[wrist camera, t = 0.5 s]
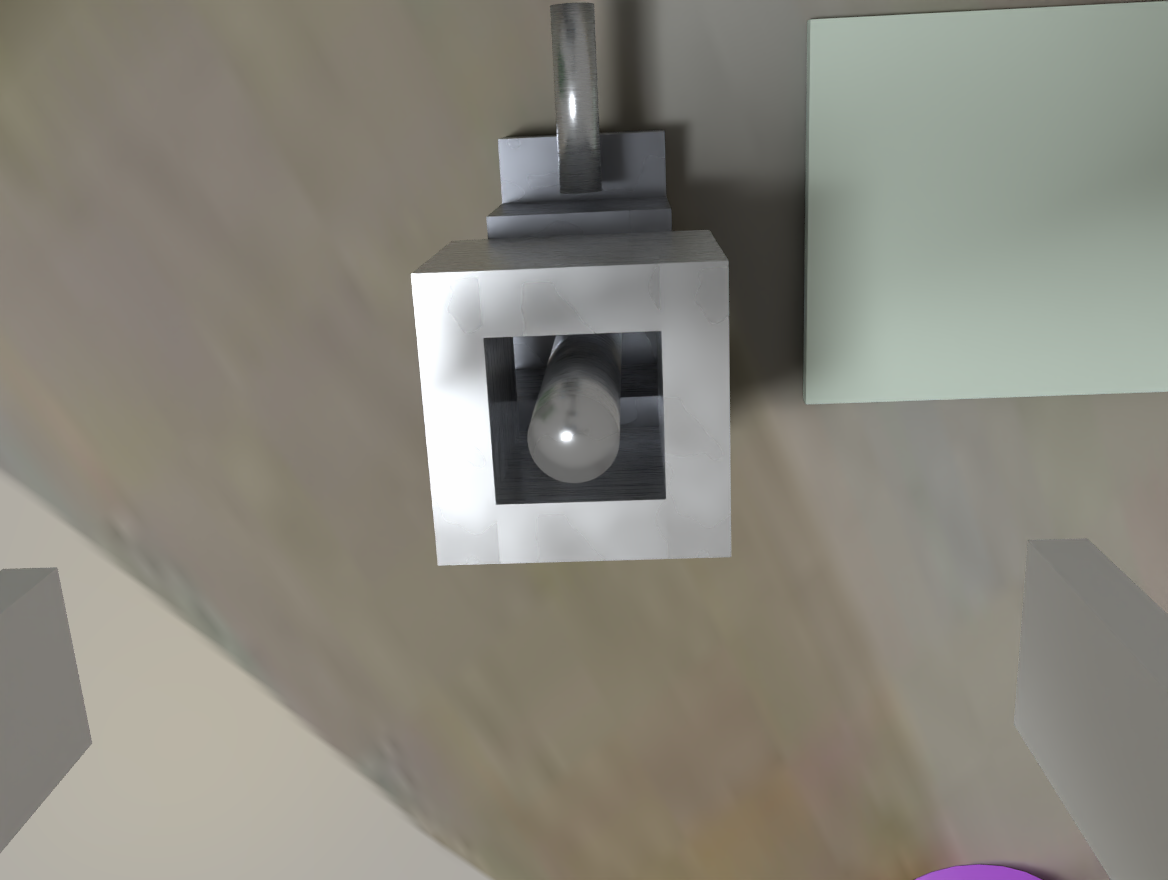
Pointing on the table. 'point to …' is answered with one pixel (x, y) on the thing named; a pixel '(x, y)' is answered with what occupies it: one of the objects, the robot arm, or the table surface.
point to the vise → (581, 207)
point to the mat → (987, 204)
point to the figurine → (978, 873)
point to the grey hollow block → (646, 454)
